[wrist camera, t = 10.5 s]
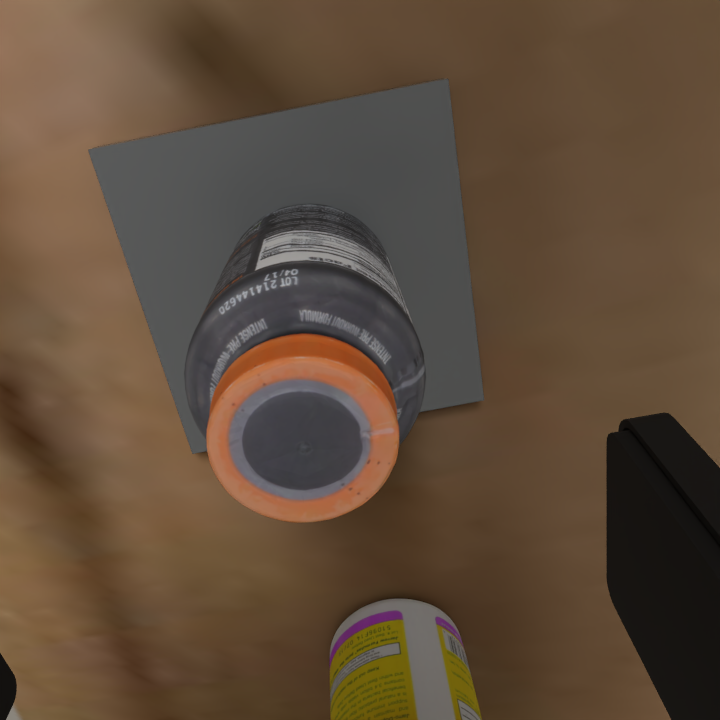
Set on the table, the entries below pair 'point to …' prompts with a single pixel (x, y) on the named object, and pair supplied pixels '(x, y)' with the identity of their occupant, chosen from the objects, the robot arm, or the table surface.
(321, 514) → the pill bottle
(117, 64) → the table surface
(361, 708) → the supplement bottle
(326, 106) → the plate
